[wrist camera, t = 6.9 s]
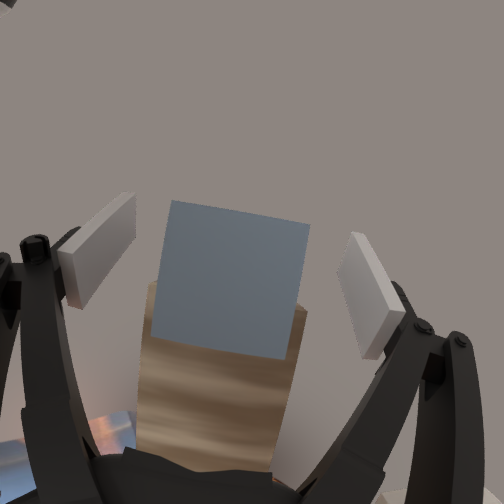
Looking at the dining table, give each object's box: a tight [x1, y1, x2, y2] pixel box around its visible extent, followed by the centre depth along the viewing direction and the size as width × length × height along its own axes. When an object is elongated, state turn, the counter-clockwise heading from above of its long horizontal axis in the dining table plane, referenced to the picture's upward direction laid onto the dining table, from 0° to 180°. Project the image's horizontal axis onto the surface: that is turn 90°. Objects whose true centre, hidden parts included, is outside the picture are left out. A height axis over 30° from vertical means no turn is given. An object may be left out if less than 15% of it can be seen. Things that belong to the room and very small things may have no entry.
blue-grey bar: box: [151, 200, 310, 360], centre depth 21 cm, size 24×4×4 cm, turn 2°
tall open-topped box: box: [136, 280, 307, 472], centre depth 26 cm, size 16×10×35 cm, turn 2°
